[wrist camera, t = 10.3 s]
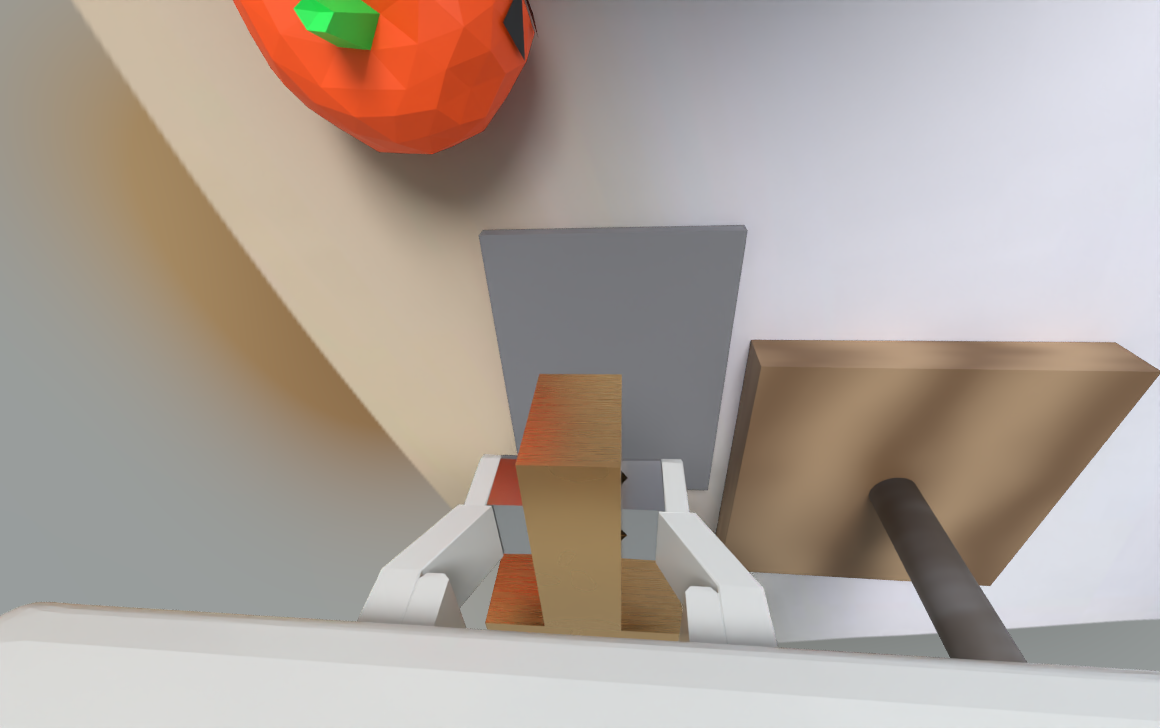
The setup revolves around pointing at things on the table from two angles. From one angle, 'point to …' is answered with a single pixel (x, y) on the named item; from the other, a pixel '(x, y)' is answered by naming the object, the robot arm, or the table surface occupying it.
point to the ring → (578, 525)
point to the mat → (622, 325)
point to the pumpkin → (396, 63)
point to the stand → (917, 462)
